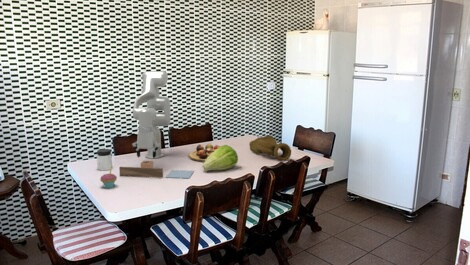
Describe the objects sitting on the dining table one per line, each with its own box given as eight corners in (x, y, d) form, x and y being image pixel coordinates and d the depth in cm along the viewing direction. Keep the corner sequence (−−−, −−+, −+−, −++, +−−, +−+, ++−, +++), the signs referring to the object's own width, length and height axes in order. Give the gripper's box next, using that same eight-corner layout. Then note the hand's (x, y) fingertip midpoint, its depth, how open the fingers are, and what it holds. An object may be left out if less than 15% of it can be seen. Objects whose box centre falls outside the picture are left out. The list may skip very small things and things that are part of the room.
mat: (171, 170, 236) (171, 169, 236) (193, 171, 235) (193, 170, 235) (165, 177, 223) (165, 176, 223) (189, 178, 222) (189, 177, 221)
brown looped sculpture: (280, 138, 289) (295, 140, 262) (275, 159, 288) (289, 163, 261) (252, 130, 282) (265, 131, 256) (247, 151, 282) (259, 154, 255)
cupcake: (118, 183, 212) (117, 163, 210) (114, 189, 204) (113, 167, 201) (103, 183, 212) (102, 163, 209) (98, 189, 203) (97, 167, 201)
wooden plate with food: (213, 166, 249) (213, 154, 247) (179, 157, 268) (178, 146, 266) (241, 156, 274) (242, 145, 272) (208, 149, 293) (208, 138, 291)
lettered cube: (144, 169, 239) (143, 160, 237) (153, 170, 238) (153, 160, 237) (141, 172, 233) (140, 162, 231) (150, 172, 232) (150, 163, 231)
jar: (94, 169, 238) (93, 150, 236) (105, 166, 245) (104, 148, 242) (104, 171, 234) (103, 152, 231) (114, 168, 241) (113, 150, 238)
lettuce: (215, 182, 230) (201, 178, 243) (243, 162, 243) (229, 160, 256) (206, 161, 226) (193, 159, 239) (235, 142, 238) (221, 141, 251)
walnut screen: (120, 175, 226) (120, 166, 225) (163, 177, 224) (162, 168, 223) (119, 176, 225) (119, 167, 224) (162, 177, 223) (162, 169, 222)
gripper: (129, 130, 227) (130, 158, 230) (157, 131, 225) (158, 159, 228) (134, 128, 234) (135, 155, 237) (161, 129, 233) (161, 156, 236)
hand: (146, 157), depth 233 cm, fingers open, 9 cm apart
